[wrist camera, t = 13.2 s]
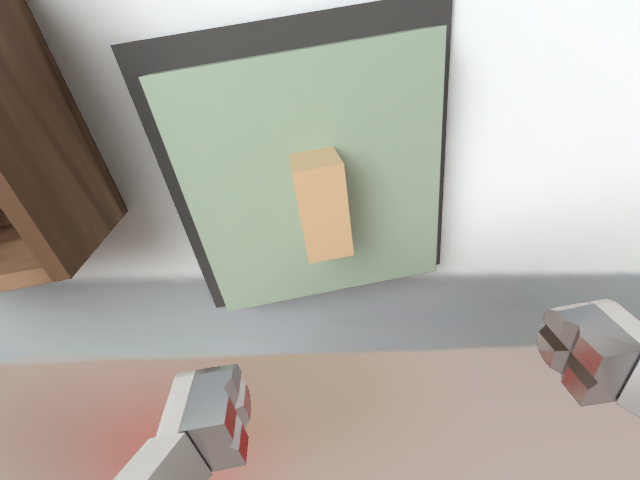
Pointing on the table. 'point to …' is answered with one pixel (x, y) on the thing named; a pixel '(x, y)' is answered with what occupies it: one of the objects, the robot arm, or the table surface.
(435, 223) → the green lid
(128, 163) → the table surface
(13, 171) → the walnut box
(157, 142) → the black mat
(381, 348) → the table surface
